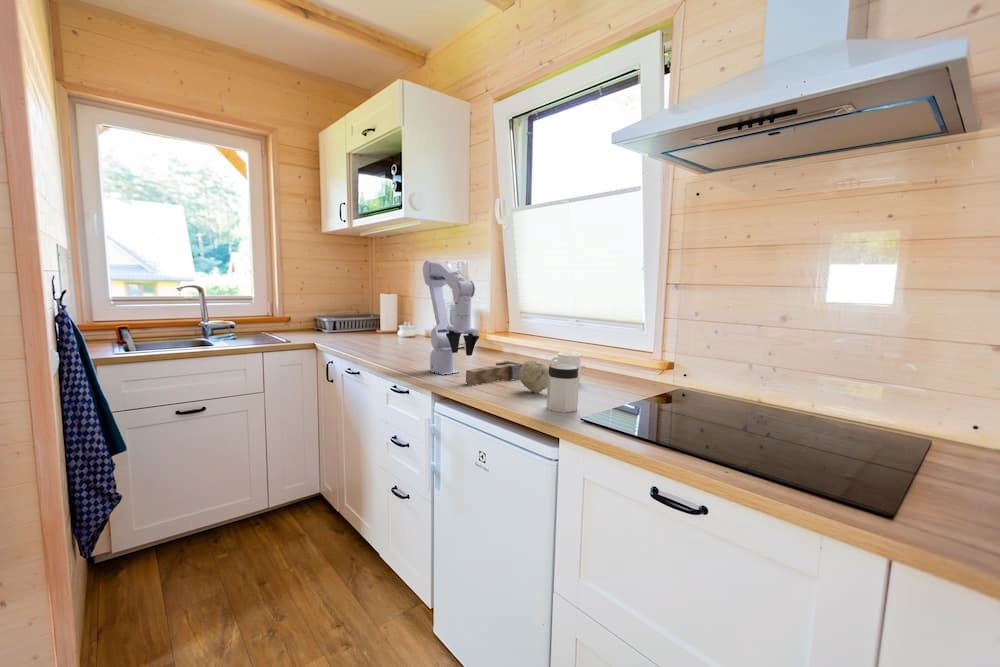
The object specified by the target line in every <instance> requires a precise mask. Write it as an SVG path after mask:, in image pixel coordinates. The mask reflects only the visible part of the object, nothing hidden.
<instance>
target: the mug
mask: <svg viewBox="0 0 1000 667" xmlns="http://www.w3.org/2000/svg"><path fill="white" fill-rule="evenodd" d="M581 358H582V354H581V353H578V352H573V351H561V352H560V351H559V352H557V355H554V356H553V357H552V358H551V359H550V361H549V366H550V365H553V364H555V363H554V362H555V361H556V362H557V363H556V364H567V365H573V366H577V367H578V378H579V382H580V378H581V361H582V360H581Z"/></svg>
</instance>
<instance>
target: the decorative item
mask: <svg viewBox="0 0 1000 667" xmlns="http://www.w3.org/2000/svg"><path fill="white" fill-rule="evenodd" d="M522 364H523V365H522V366H521V368H520V370H519V379H518V380H520V382H521V384H522V385H523V386H524V387H525V388H526V389H528V390H529V391H531V392H532V393H534V394H539V393H541V392H542V391H544V390H545V389H547V388H548V374H549V366H550V364H545V363H542V362H538V361H536V360H528V361H526V362H523V363H522Z"/></svg>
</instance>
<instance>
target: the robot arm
mask: <svg viewBox="0 0 1000 667" xmlns="http://www.w3.org/2000/svg"><path fill="white" fill-rule="evenodd" d="M422 275H423V280H424V283H425V285H427V286H428V287H429V288H428V289H429V293H430V294H429V295H430V297H431V303H432V309H433V314H434V317H435V318H434V319H435V324H436V325H435V326H434V327H433V328H432V329H431V331H430V342H431V343H430V344H431V346H432V348H433V349H432V350H431V352H430V355H429V356H430V362H429V363H430V365H429V366H430V367H429V369H428V372H430V371H431V372H430V373H434V372H435V374H438V373H439V374H438V375H443V376H444V375H445V374H447V375H451V374H452V373H453V374H458V372H459V373H460V371H459V370H457V369H456V370H455V368H456V367H455V366H456V364H455V362H456V358H455V357H456V353H459V346H460V343H461V335H463V339H464V345H465V355H466V356H472V355H473V352H474V348H475V346H476V344H477V341H478V340H479V338H480V335H479V334H480V333H479V331H480V329H476V328H472V327H471V326H472V324H471V322H472V298H473V297H474V295H475V292H476V290H475V289H476V288H475V287H476V286H475V284H474V282H473V280H466V279H465V277H463V275H461V274H460V272H459V271H458V270H457V271H456V270H455V271H453V269H452V264H451V262H449V261H448V260H447V261H438V260H428V259H427V260H425V261H424V262H423V266H422ZM446 285H447V286H448V287H450V289H451V293H452V296H453V298H452V300H453V302H454V317H453V318H454V320H453V323H454V325H453V324H451V322H450V320H449V319H450V318H449V315H448V309H447V305H446V300H445V296H444V290H443V287H445V286H446ZM445 376H446V375H445Z"/></svg>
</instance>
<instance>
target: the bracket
mask: <svg viewBox="0 0 1000 667" xmlns="http://www.w3.org/2000/svg"><path fill="white" fill-rule="evenodd" d="M503 364H515V365H512V366H510V373H509V379H508V380H510V379H515V380H518V379H517V378H519V370H520V368H521V366H522V365H523V364H524V363H521V362H515V361H512V360H511V361H510V360H505V361H500V362H495V366H497V365H503Z"/></svg>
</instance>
